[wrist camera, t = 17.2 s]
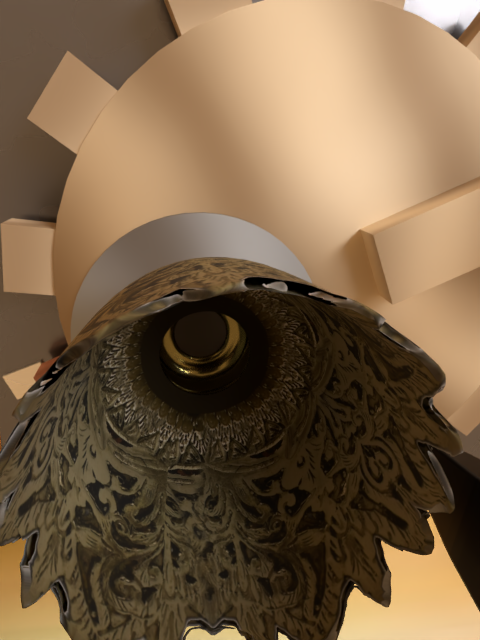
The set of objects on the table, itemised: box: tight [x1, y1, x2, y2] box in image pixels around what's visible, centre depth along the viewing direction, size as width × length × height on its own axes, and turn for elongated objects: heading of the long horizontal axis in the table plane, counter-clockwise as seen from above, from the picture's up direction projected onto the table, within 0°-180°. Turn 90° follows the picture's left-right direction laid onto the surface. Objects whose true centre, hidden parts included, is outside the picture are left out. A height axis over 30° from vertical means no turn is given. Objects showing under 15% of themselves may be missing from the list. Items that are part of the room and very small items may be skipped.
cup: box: [0, 257, 463, 640], centre depth 11 cm, size 8×7×8 cm
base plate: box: [0, 0, 480, 459], centre depth 17 cm, size 21×21×1 cm
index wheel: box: [1, 0, 480, 436], centre depth 13 cm, size 20×19×6 cm
